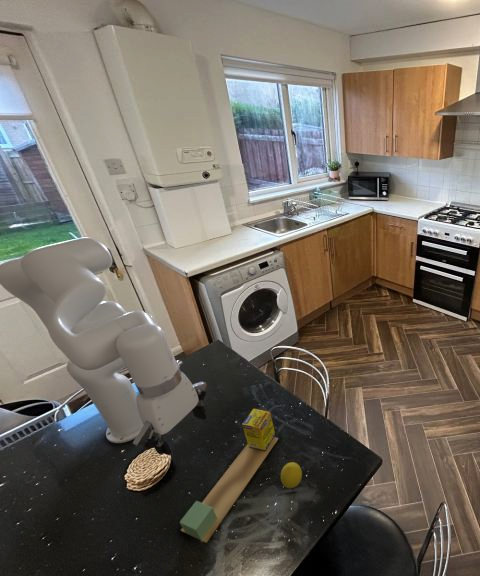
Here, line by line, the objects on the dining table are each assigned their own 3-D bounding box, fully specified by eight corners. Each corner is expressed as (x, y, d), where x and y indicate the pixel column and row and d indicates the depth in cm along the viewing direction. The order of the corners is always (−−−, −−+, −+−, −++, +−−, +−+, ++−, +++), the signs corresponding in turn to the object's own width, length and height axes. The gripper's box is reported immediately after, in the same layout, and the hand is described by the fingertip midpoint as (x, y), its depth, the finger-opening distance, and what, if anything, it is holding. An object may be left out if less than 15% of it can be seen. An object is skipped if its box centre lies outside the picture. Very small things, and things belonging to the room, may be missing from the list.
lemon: (285, 498, 83) (281, 480, 79) (281, 479, 87) (276, 462, 83) (305, 488, 85) (302, 471, 81) (300, 470, 89) (297, 453, 86)
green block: (185, 532, 75) (179, 522, 73) (201, 511, 80) (196, 500, 77) (201, 540, 74) (195, 530, 72) (217, 518, 78) (212, 507, 76)
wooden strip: (180, 530, 76) (180, 530, 76) (257, 431, 100) (257, 431, 100) (206, 543, 74) (206, 542, 74) (278, 438, 98) (278, 438, 98)
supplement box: (266, 452, 94) (260, 428, 89) (248, 448, 95) (241, 424, 90) (276, 434, 99) (270, 411, 94) (259, 431, 100) (252, 408, 95)
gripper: (181, 350, 72) (201, 401, 80) (102, 408, 58) (136, 463, 66) (207, 357, 70) (224, 409, 78) (131, 419, 56) (162, 474, 64)
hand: (184, 433), depth 72 cm, fingers open, 9 cm apart
